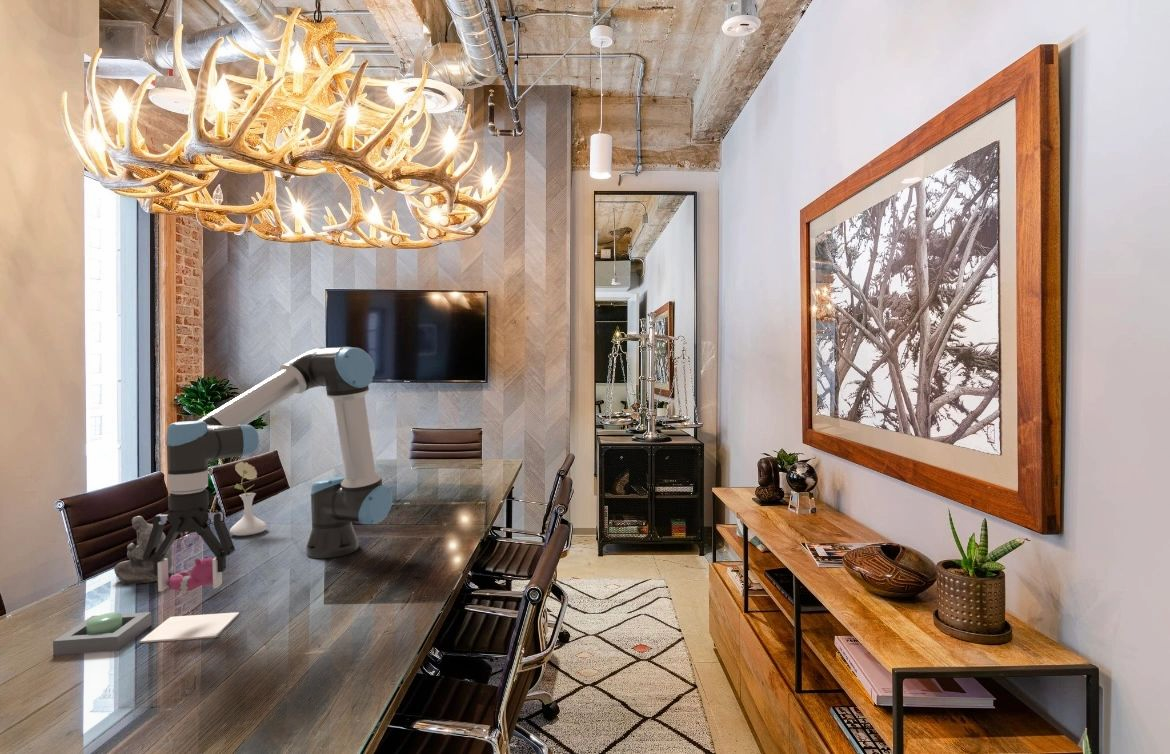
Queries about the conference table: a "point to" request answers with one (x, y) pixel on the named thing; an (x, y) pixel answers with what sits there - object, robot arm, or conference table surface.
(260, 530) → the flower in vase
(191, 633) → the paper sheet
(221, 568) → the robot arm
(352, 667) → the conference table surface
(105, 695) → the conference table surface
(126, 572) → the figurine
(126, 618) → the button housing
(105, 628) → the button
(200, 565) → the toy
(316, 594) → the conference table surface
